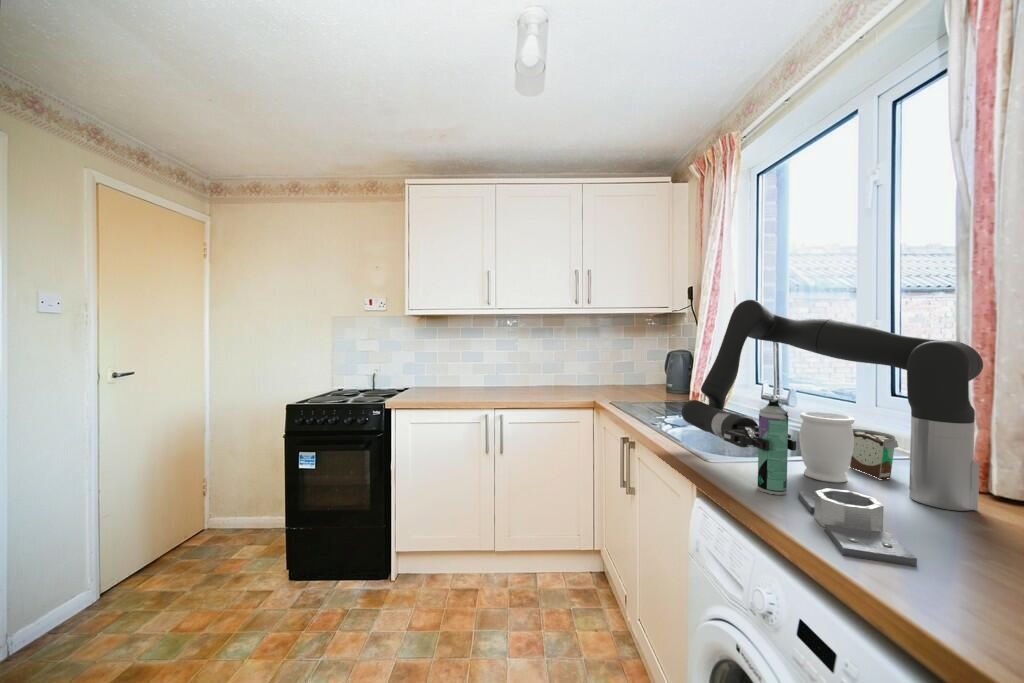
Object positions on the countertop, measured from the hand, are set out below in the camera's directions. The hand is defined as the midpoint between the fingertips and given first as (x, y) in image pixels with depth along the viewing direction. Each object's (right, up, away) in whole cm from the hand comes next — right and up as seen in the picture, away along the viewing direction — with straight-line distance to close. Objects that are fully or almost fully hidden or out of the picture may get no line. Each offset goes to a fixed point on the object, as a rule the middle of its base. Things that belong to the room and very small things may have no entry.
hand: (781, 446), depth 92 cm
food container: (+33, -11, +15) cm, 38 cm away
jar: (+18, -11, +12) cm, 24 cm away
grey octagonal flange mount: (+3, -11, -14) cm, 18 cm away
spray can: (0, -11, +3) cm, 11 cm away
